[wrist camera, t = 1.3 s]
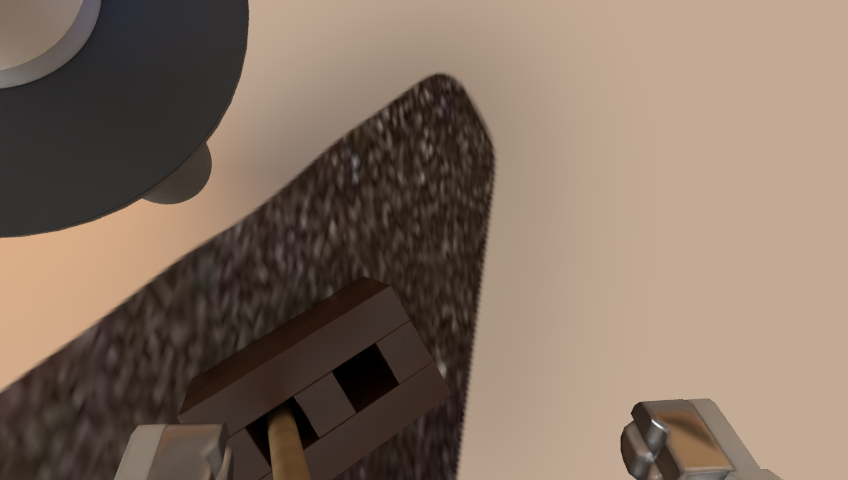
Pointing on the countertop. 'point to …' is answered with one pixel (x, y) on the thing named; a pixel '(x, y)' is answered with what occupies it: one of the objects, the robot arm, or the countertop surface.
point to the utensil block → (322, 383)
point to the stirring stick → (285, 445)
